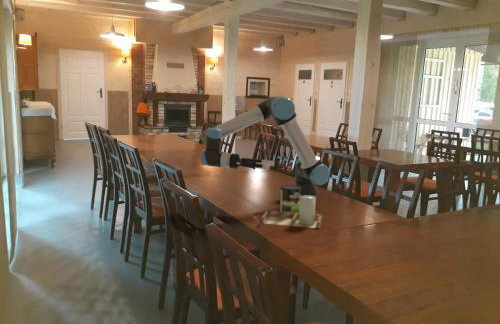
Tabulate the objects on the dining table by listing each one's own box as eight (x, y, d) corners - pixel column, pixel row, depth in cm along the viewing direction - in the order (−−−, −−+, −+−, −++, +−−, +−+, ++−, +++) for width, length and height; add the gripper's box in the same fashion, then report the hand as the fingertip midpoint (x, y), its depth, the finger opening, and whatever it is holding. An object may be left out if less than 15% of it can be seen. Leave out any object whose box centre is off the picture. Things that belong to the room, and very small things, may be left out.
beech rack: (260, 225, 177) (261, 217, 176) (266, 217, 190) (266, 210, 189) (319, 230, 171) (320, 222, 170) (321, 222, 183) (322, 214, 183)
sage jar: (311, 220, 182) (312, 195, 180) (317, 225, 175) (318, 198, 173) (296, 221, 180) (297, 195, 179) (302, 226, 174) (302, 199, 172)
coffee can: (304, 216, 194) (305, 188, 192) (286, 218, 189) (287, 189, 187) (293, 211, 203) (293, 184, 201) (275, 213, 198) (276, 185, 196)
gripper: (236, 165, 212) (275, 169, 208) (222, 171, 188) (266, 175, 184) (237, 151, 212) (276, 155, 207) (223, 155, 187) (267, 159, 183)
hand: (271, 165), depth 195 cm, fingers open, 13 cm apart
